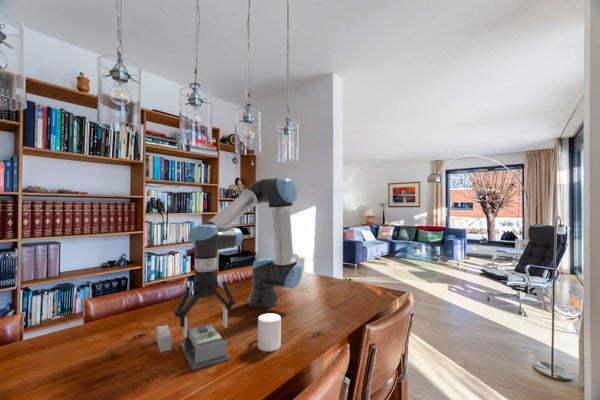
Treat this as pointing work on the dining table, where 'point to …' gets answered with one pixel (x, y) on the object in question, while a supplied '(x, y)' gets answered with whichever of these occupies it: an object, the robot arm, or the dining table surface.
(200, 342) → the board
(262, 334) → the mug
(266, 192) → the robot arm
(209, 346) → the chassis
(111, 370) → the dining table surface
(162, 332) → the stand
